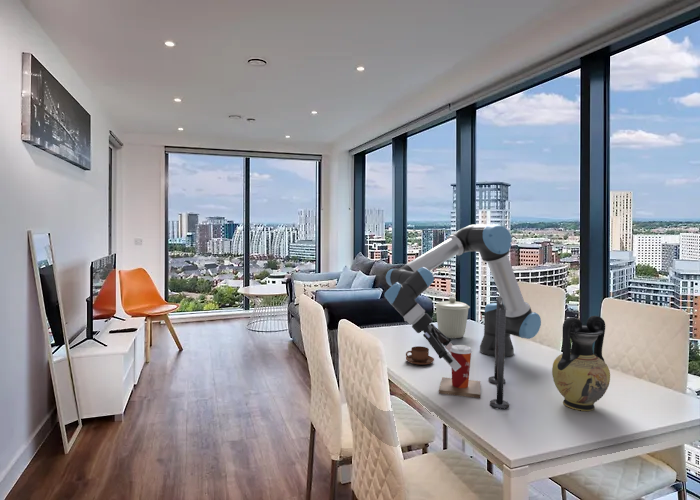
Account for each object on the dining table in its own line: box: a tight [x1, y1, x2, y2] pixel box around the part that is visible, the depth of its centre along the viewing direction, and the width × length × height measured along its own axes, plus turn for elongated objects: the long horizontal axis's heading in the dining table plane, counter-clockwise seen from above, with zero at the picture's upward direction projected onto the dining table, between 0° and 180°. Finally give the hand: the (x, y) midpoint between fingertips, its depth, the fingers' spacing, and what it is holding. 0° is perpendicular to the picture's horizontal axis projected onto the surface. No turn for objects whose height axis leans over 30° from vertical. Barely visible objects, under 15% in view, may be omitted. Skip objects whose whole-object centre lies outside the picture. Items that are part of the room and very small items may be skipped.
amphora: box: [551, 315, 611, 412], centre depth 149 cm, size 18×17×30 cm
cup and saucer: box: [405, 345, 435, 366], centre depth 194 cm, size 12×12×6 cm
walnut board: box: [438, 376, 481, 399], centre depth 164 cm, size 14×14×1 cm
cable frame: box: [488, 295, 510, 411], centre depth 159 cm, size 30×6×33 cm, turn 164°
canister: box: [434, 296, 471, 339], centre depth 240 cm, size 18×18×21 cm
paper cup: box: [450, 344, 473, 388], centre depth 163 cm, size 8×8×14 cm
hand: (459, 363), depth 163 cm, fingers open, 13 cm apart
